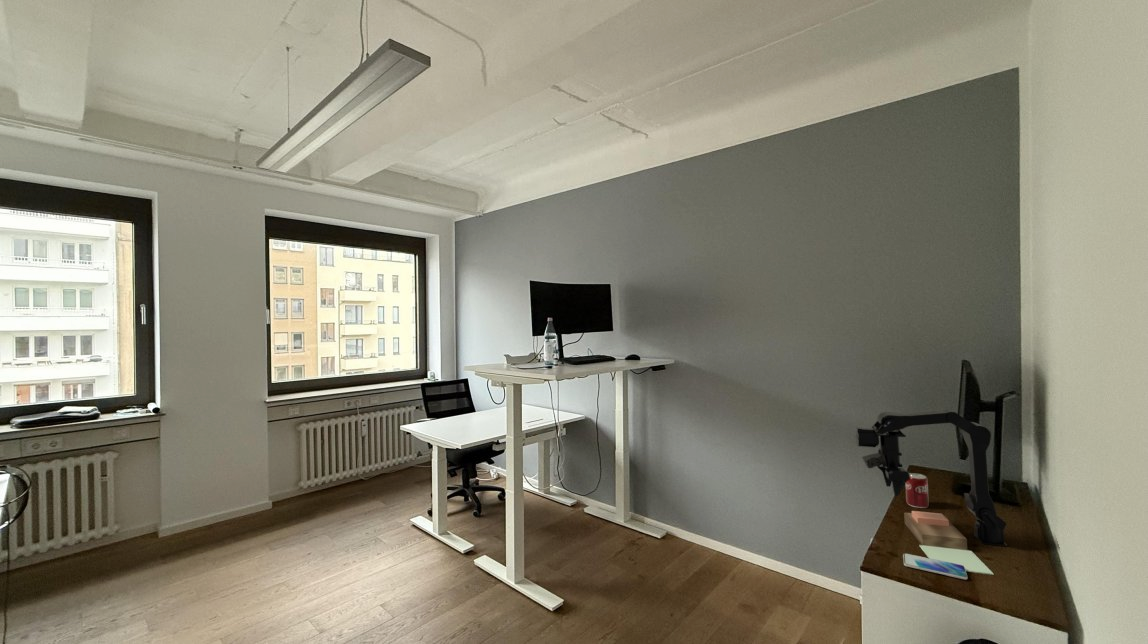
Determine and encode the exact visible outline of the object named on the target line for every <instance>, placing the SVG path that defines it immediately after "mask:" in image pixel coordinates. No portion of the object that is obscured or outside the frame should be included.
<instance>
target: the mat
mask: <svg viewBox="0 0 1148 644" xmlns="http://www.w3.org/2000/svg"><path fill="white" fill-rule="evenodd" d="M919 548H921V550H922V551H923V553H924V555H926V557H927V558H930V559H935V560H940V561H945V562H949V563H954V564H959V565H963V566H964V567H965V570H966V573H967V572H970V573H976V574H983V575H991V576H992V575H993V576H994V575H995V574H994V573H993V571H992V570H991V569H990V568H989V567H988V566H987V565H985V563H984V562H983V561H982V560H981V559H980V558H979V557H978V556H977V555H976V554H975V553H974V552H973V551H972V550H969V549H967V550H960V549H951V548H942V547H933V546H925V545H922V544H919Z"/></svg>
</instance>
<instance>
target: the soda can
mask: <svg viewBox="0 0 1148 644" xmlns="http://www.w3.org/2000/svg"><path fill="white" fill-rule="evenodd" d="M908 473H909V474H910V480H908V481H907V482H906V483H905V485H904V486H905V501H906V504H907V505H908V506H911V507H913V508H918V509H927V508H928V507H929V506H930V505H929V504H930V503H929V484H928V480H929V479H928V478H927V476H926V475H925V474H921V473H914V472H908Z"/></svg>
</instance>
